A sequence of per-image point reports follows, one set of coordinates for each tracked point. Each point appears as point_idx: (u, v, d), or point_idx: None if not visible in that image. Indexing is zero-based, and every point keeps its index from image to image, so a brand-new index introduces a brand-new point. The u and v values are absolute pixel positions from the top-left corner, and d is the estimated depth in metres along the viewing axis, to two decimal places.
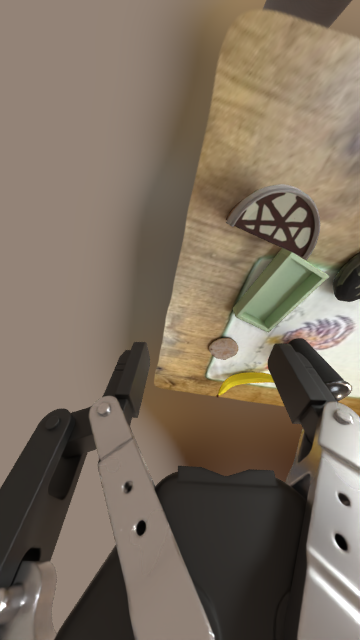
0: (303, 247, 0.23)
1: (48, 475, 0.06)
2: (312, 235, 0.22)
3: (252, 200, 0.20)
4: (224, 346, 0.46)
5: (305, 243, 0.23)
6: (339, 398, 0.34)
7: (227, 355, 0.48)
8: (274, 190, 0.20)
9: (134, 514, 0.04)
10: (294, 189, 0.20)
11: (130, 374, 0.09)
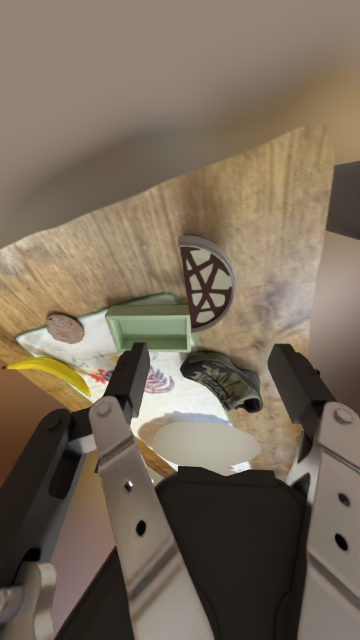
0: (198, 323, 0.23)
1: (48, 475, 0.06)
2: (210, 321, 0.23)
3: (210, 249, 0.17)
4: (68, 328, 0.36)
5: (202, 321, 0.23)
6: None
7: (63, 338, 0.38)
8: (227, 264, 0.18)
9: (134, 514, 0.04)
10: (235, 281, 0.19)
11: (130, 374, 0.09)
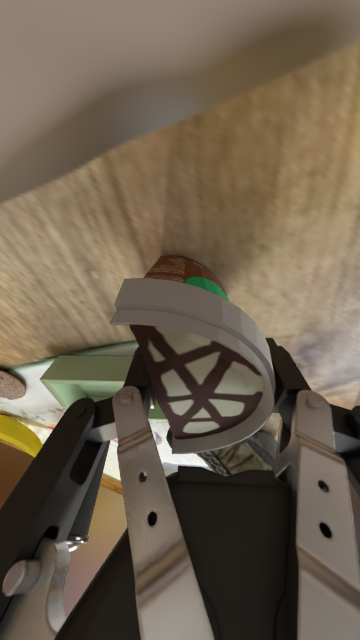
0: (187, 433, 0.12)
1: (71, 460, 0.06)
2: (210, 434, 0.11)
3: (215, 325, 0.06)
4: None
5: (194, 432, 0.12)
6: None
7: None
8: (259, 357, 0.07)
9: (147, 504, 0.05)
10: (273, 385, 0.08)
11: None
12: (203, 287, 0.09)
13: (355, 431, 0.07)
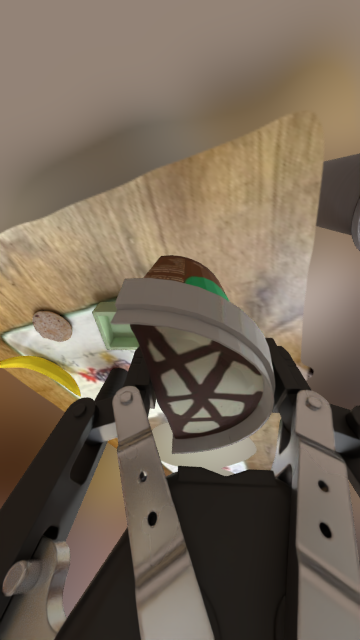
0: (187, 433, 0.12)
1: (71, 460, 0.06)
2: (210, 434, 0.11)
3: (215, 325, 0.06)
4: (55, 325, 0.35)
5: (194, 432, 0.12)
6: None
7: (51, 336, 0.37)
8: (259, 356, 0.07)
9: (147, 504, 0.05)
10: (273, 385, 0.08)
11: None
12: (203, 287, 0.09)
13: (355, 431, 0.07)
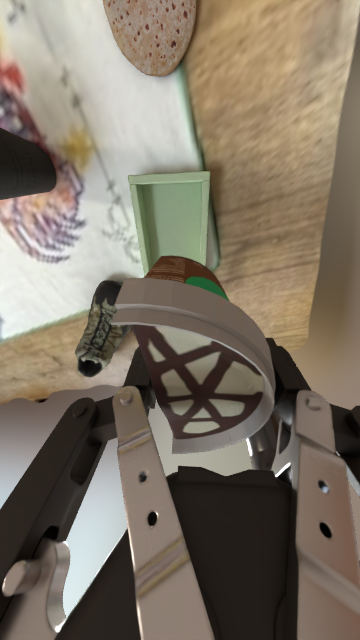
0: (187, 433, 0.12)
1: (71, 460, 0.06)
2: (211, 434, 0.11)
3: (215, 325, 0.06)
4: (158, 21, 0.15)
5: (194, 432, 0.12)
6: None
7: None
8: (259, 356, 0.07)
9: (147, 504, 0.05)
10: (273, 385, 0.08)
11: None
12: (203, 287, 0.09)
13: (355, 431, 0.07)
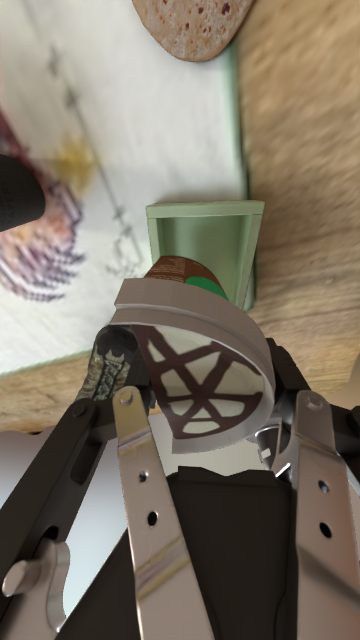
0: (187, 433, 0.12)
1: (71, 460, 0.06)
2: (210, 434, 0.11)
3: (215, 325, 0.06)
4: None
5: (194, 432, 0.12)
6: None
7: None
8: (259, 356, 0.07)
9: (147, 504, 0.05)
10: (273, 385, 0.08)
11: None
12: (203, 287, 0.09)
13: (354, 431, 0.07)
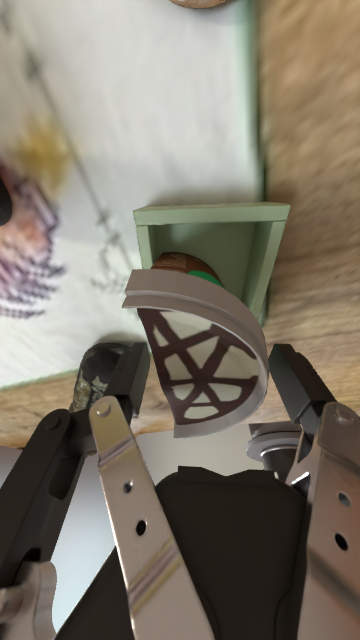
0: (188, 419, 0.12)
1: (48, 475, 0.06)
2: (210, 419, 0.12)
3: (214, 310, 0.07)
4: None
5: (195, 418, 0.12)
6: None
7: None
8: (254, 340, 0.07)
9: (134, 514, 0.04)
10: (267, 368, 0.09)
11: (130, 374, 0.09)
12: None
13: None
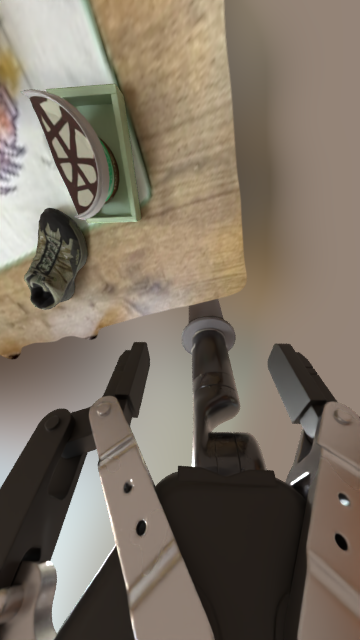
0: (82, 206, 0.24)
1: (48, 475, 0.06)
2: (91, 204, 0.24)
3: (56, 99, 0.18)
4: None
5: (84, 205, 0.24)
6: None
7: None
8: (79, 120, 0.19)
9: (134, 514, 0.04)
10: (94, 144, 0.20)
11: (130, 374, 0.09)
12: None
13: None
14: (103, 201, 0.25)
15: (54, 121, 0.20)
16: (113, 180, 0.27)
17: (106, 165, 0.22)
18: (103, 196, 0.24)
